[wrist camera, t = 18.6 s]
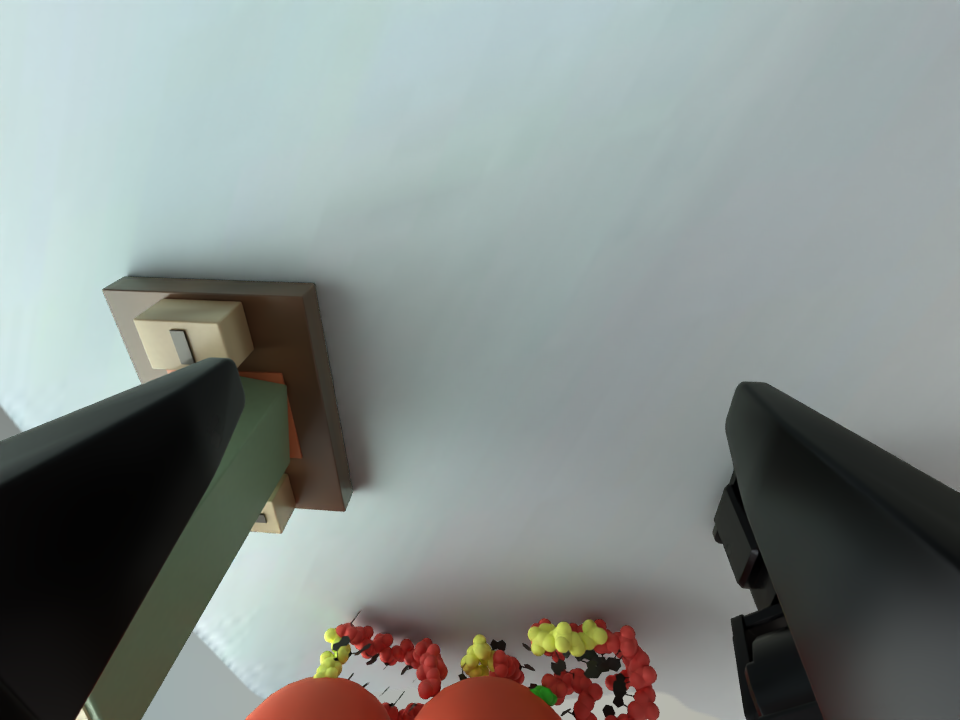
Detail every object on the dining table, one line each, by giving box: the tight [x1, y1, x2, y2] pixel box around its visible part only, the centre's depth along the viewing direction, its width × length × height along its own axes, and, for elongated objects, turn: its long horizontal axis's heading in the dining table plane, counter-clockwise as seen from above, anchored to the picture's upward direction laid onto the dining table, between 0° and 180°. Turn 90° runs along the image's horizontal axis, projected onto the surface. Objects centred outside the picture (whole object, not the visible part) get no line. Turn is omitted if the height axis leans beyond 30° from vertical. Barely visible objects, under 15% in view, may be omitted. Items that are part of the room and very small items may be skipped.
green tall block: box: [76, 376, 290, 720], centre depth 20 cm, size 5×5×13 cm
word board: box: [102, 277, 353, 534], centre depth 25 cm, size 9×13×4 cm
